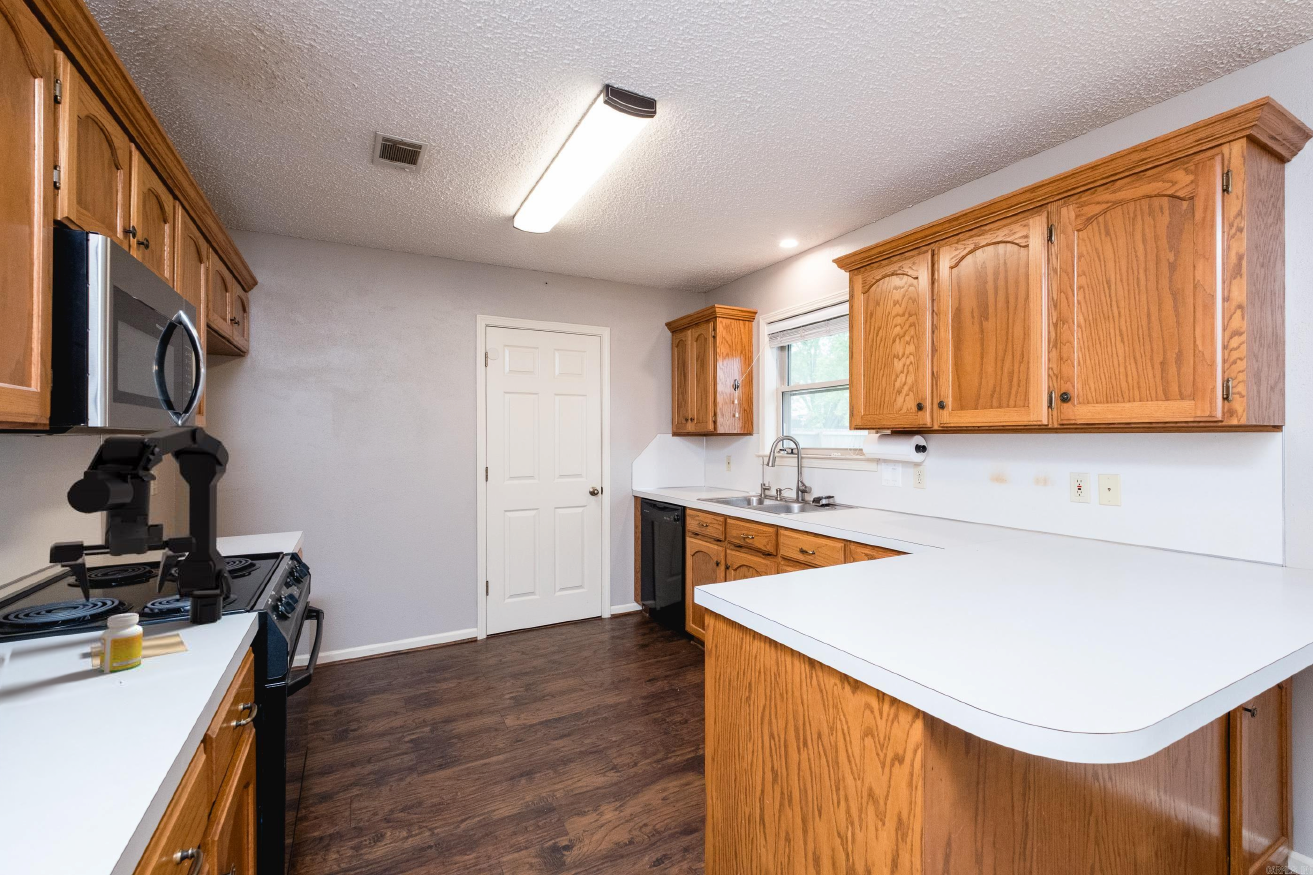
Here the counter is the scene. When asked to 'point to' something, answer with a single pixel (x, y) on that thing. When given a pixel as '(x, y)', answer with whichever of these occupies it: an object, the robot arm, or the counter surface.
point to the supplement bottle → (121, 644)
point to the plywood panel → (150, 647)
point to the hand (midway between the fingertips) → (124, 597)
